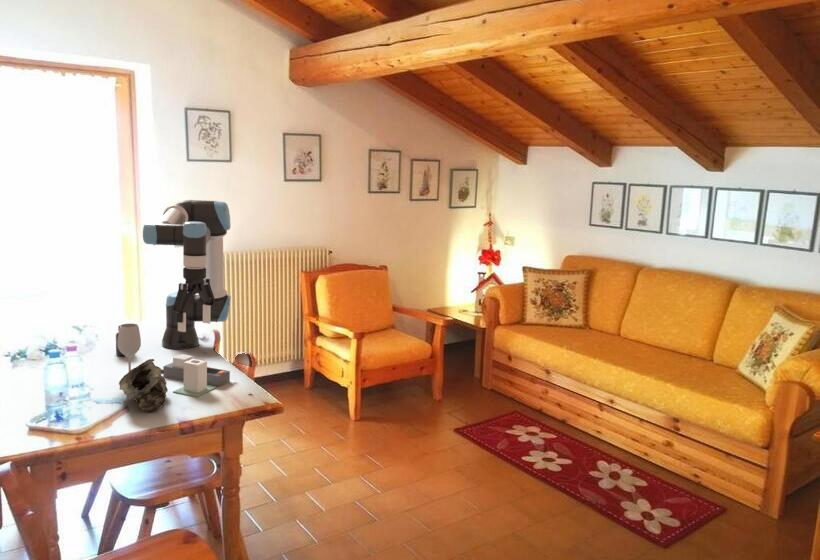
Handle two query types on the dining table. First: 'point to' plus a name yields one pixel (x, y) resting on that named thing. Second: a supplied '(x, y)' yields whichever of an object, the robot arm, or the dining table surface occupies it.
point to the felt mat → (194, 394)
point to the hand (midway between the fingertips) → (194, 327)
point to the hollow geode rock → (145, 386)
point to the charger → (195, 375)
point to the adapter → (181, 361)
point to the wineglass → (129, 341)
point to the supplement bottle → (117, 346)
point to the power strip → (213, 375)
